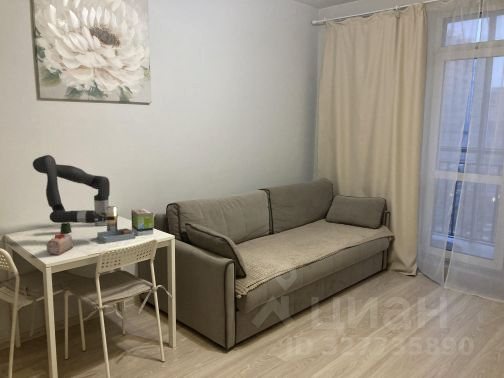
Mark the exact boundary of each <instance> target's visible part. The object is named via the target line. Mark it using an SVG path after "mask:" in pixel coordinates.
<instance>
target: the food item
mask: <svg viewBox="0 0 504 378" xmlns="http://www.w3.org/2000/svg"><path fill="white" fill-rule="evenodd" d="M73 248H74V245H73V237H72V235H71V234H69V233H60V234H57V233H55V234H54V237H53V238H52V239H50V240H49V241H47V243H46V252H47V253H48V254H50V255H53V256H60V255H63V253H66V252H67V251H69V250H72V249H73Z"/></svg>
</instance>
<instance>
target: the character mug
mask: <svg viewBox="0 0 504 378" xmlns="http://www.w3.org/2000/svg"><path fill="white" fill-rule="evenodd" d="M70 232H72V227H71V222H64V223H60V234H69V233H70Z"/></svg>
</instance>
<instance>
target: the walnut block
mask: <svg viewBox="0 0 504 378" xmlns="http://www.w3.org/2000/svg"><path fill="white" fill-rule="evenodd" d="M121 229H122V230H121V235H125V234H131V231H132V230H130V229H129V228H127V229H125V228H121Z"/></svg>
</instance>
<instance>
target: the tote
mask: <svg viewBox="0 0 504 378" xmlns="http://www.w3.org/2000/svg"><path fill="white" fill-rule="evenodd" d="M122 229H123V228H120V229H117V231H112V232H110V231H107V230H106V231H100V232H99V231H98V232H97V239H98V240H99V241H101V242H102V243H103V244H111V243H117V242H123V241H129V240H135V239H136V234H135V233H134V232H133V231H132V230H130V231H131V234H125V235H121V230H122ZM124 229H128V228H126V227H125V228H124Z"/></svg>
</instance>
